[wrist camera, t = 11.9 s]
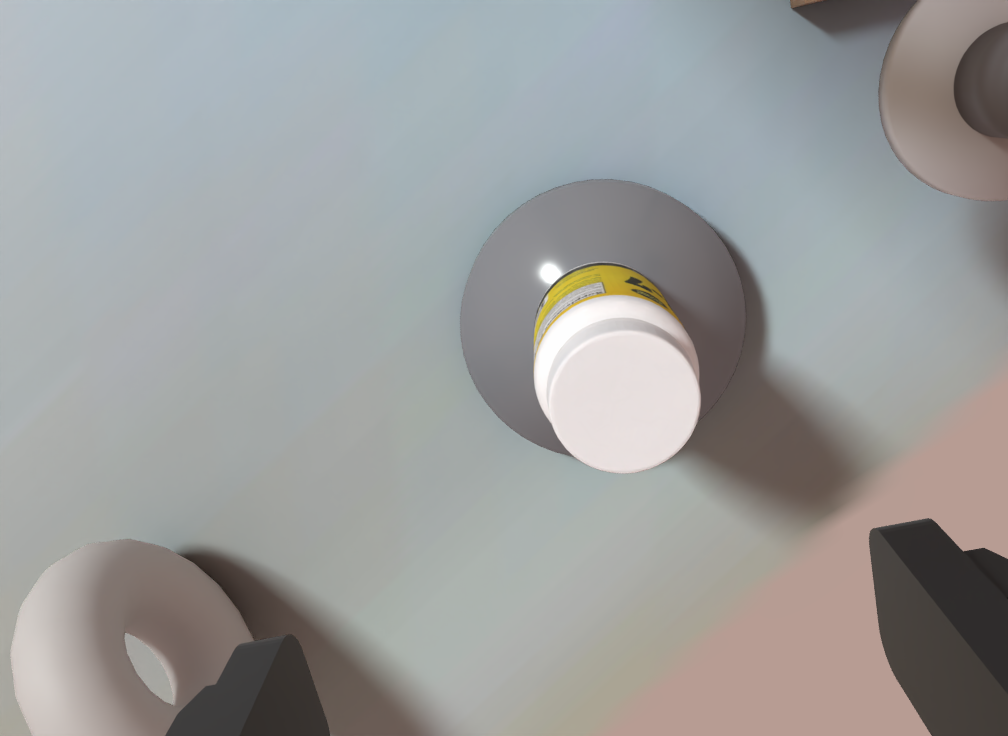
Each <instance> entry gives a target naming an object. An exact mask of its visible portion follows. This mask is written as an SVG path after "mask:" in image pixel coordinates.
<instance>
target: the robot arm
mask: <svg viewBox="0 0 1008 736" xmlns="http://www.w3.org/2000/svg"><path fill="white" fill-rule="evenodd" d="M869 545H870V554H871V562H872V572H873V580H874V589H875V597H876V606H877V614H878V623H879V630H880V635H881V639H882V644H883V647H884V651H885V654H886V657H887V659H888V662H889V664H890V667H891V669H892V671H893V673H894V675H895V677H896V679H897V680H898V682H899V684H900V685H901V687H902V688H903V690H904V692H905V693H906V695H907V697H908V698H909V700H910V701H911V703H912V705H913V706H914V708H915V709H916V711H917V712H918V714H919V716H920V718H921V719H922V721H923V722H924V724H925V726H926V727H927V729H928V730H929V732H930V734H931V735H932V736H1008V559H1006V558H1004V557H1002V556H1000V555H998V554H996V553H994V552H992V551H990V550H987V549H985V548H981V549H975V550H969V551H964V552H963V551H962V550H961V549H960V548H959V547H958V546H957V545H956V544H955V542H954V541H953V540H952V539H951V538H950V537H949V536H948V535H947V534H946V533H945V532H944V531H943V530H942V529H941V528H940V526H939V525H938V524H937V523H936V522H934V521H933V520H932V519H929V518H928V519H922V520H917V521H911V522H906V523H900V524H895V525H889V526H884V527H879V528H873V529H872V530H871V531H870V536H869ZM165 736H330V733H329V728H328V724H327V720H326V717H325V714H324V711H323V709H322V706H321V703H320V700H319V697H318V694H317V691H316V688H315V685H314V683H313V680H312V677H311V674H310V671H309V668H308V665H307V662H306V659H305V657H304V654H303V651H302V648H301V646H300V644H299V642H298V640H297V639H296V638H295V637H294V636H293V635H284V636H278V637H273V638H268V639H262V640H257V641H251V642H246V643H241V644H239V645H238V646H237V647H236V648H235V649H234V651H233V653H232V655H231V657H230V659H229V660H228V662H227V664H226V666H225V668H224V670H223V672H222V674H221V675H220V677H219V679H218V681H217V683H216V684H215V685H209V686H205V687H204V688H203V689H202V690H201V691H200V692H199V693H198V694H197V695H196V696H195V697H194V698H193V699H192V700H191V701H190V702H189V703H188V704H187V705H186V706H185V707H184V708H183V709H182V710H181V711H180V712H179V713H178V714H177V716H176V717H175V719H174V721H173V723H172V724H171V726H170V728H169V730H168V731H167V733H166V735H165Z"/></svg>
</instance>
